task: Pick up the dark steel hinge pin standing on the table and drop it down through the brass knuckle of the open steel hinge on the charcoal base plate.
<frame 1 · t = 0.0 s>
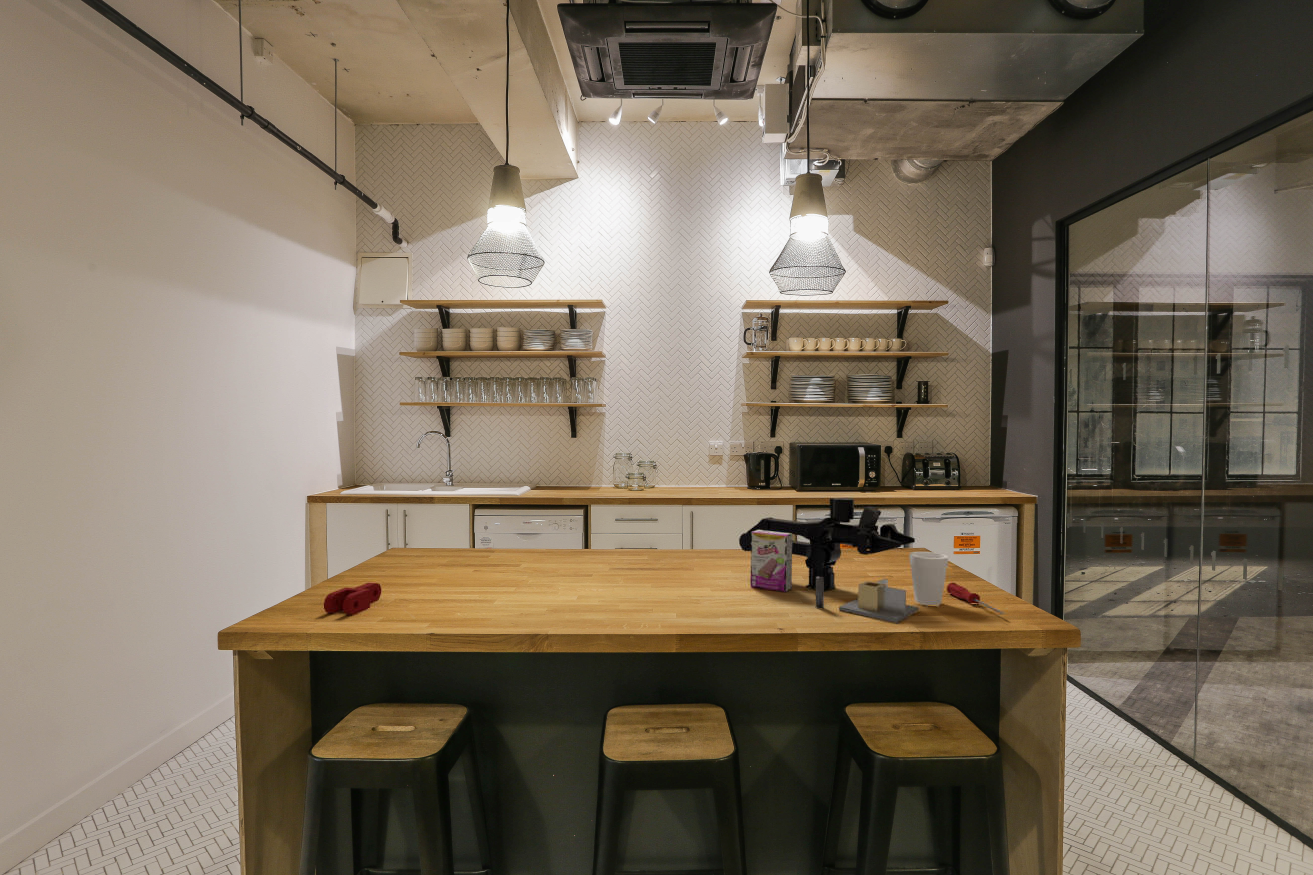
hand: (907, 542, 171), 17 cm above the table, tool horizontal, fingers open, 9 cm apart
hinge: (871, 611, 164), resting on base plate
mechanical linkage: (357, 608, 166), on the table
candy bar box: (770, 589, 187), on the table
screwdriver: (975, 607, 170), on the table
foam cup: (927, 604, 172), on the table
hinge pin: (819, 607, 168), on the table
base plate: (878, 610, 165), on the table
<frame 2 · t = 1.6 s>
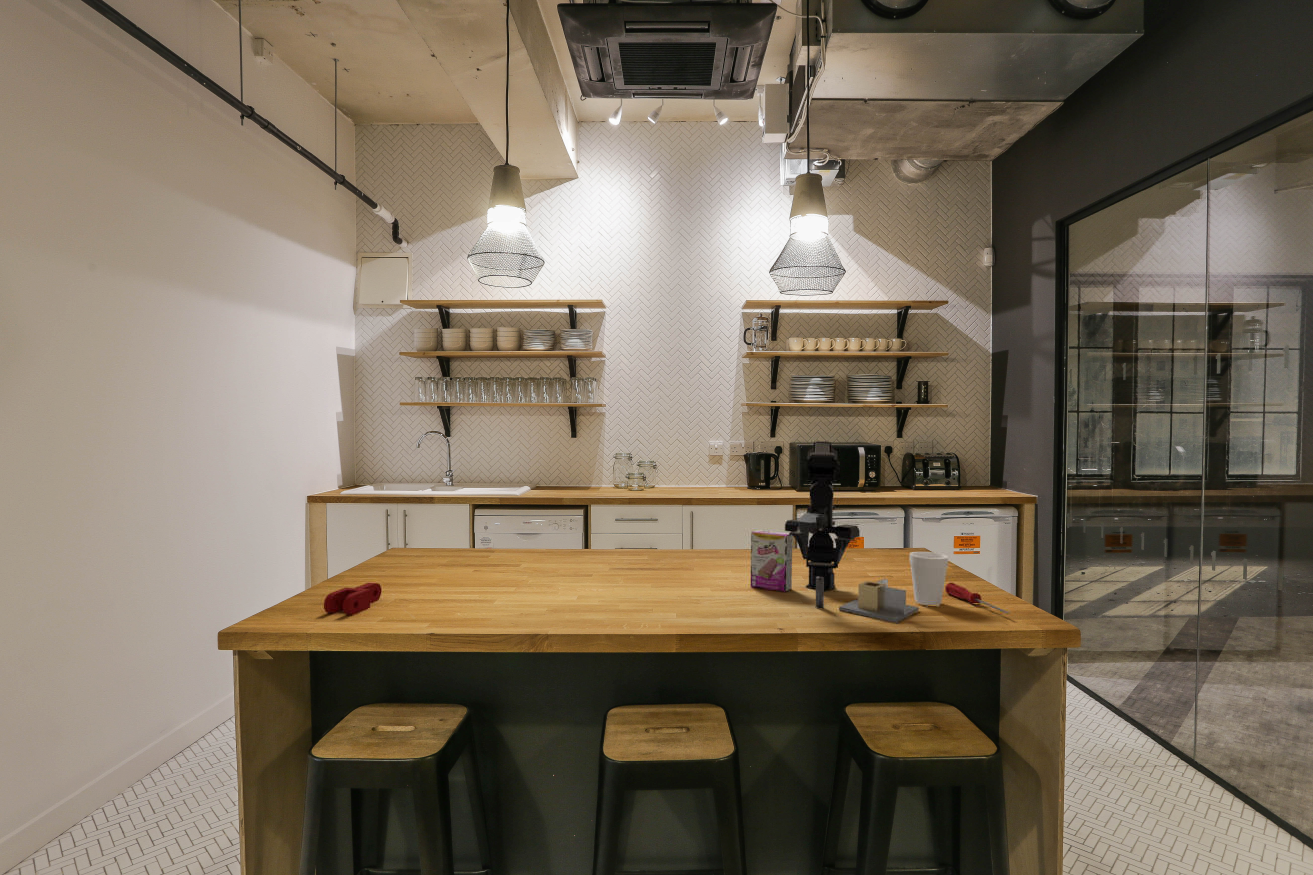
hand: (820, 561, 168), 12 cm above the table, tool pointing down, fingers open, 9 cm apart
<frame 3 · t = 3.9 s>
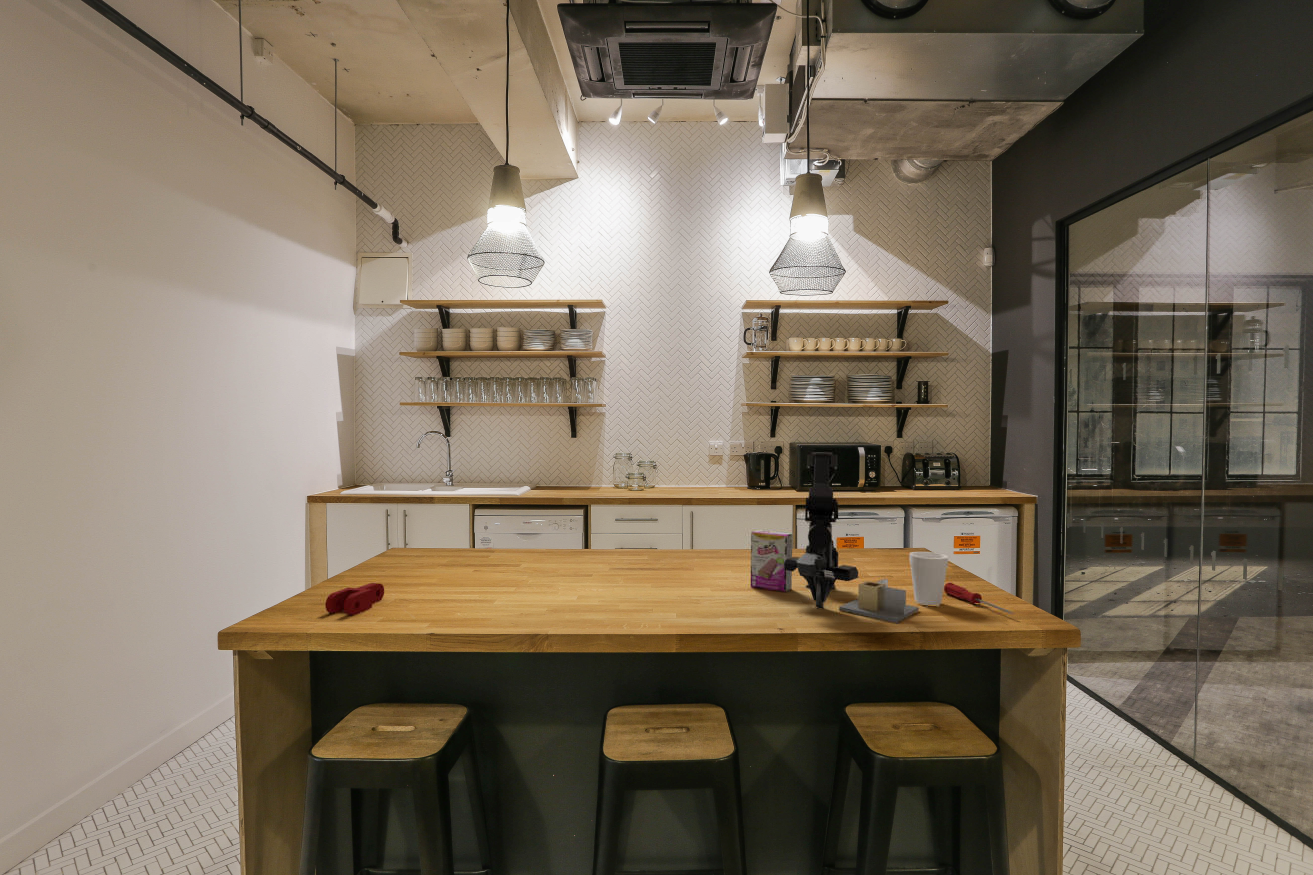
hand: (819, 601, 168), 2 cm above the table, tool pointing down, fingers closed on hinge pin, 2 cm apart
hinge pin: (819, 607, 168), on the table, touching gripper
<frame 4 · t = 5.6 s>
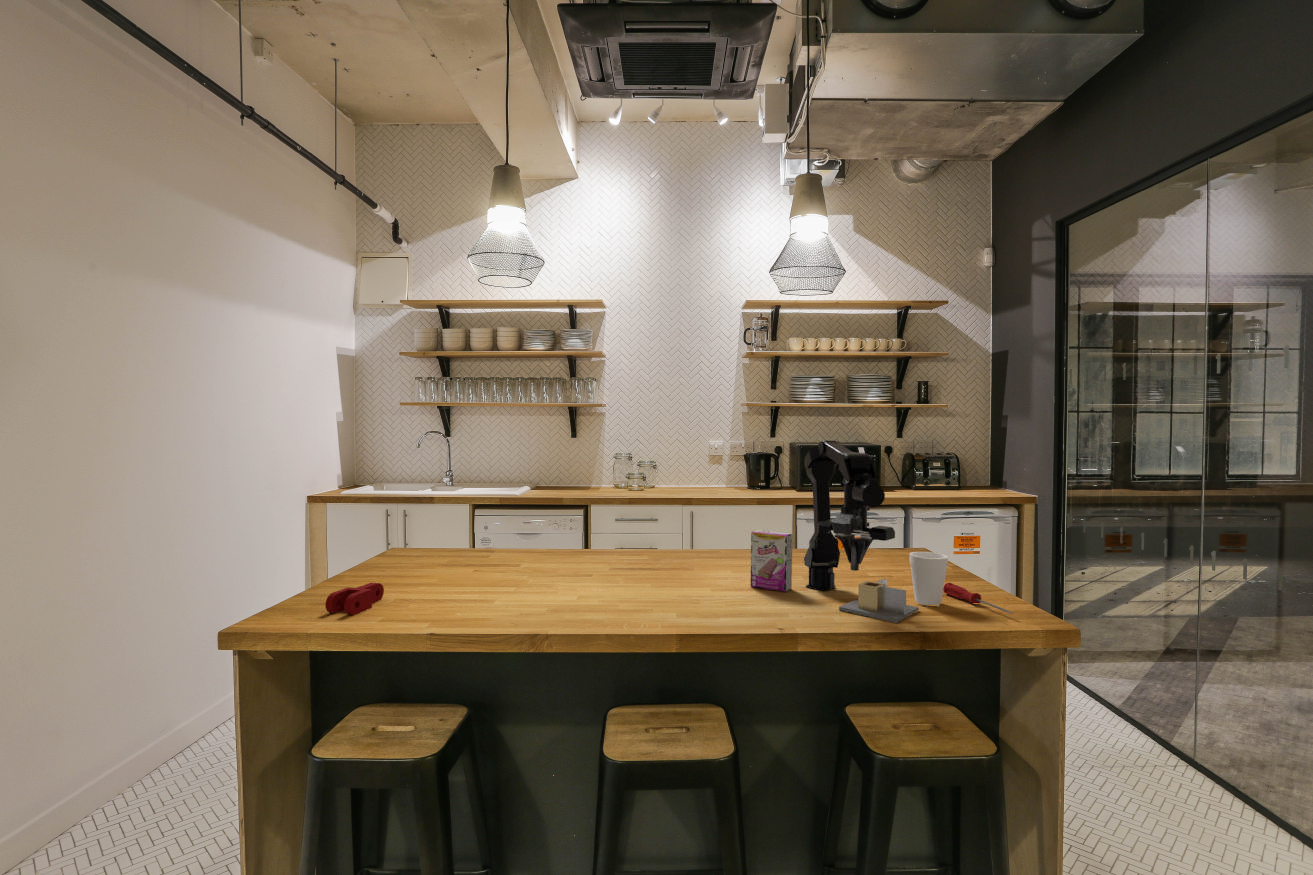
hand: (854, 563, 165), 12 cm above the table, tool pointing down, fingers closed on hinge pin
hinge pin: (854, 569, 165), point 11 cm above the table, touching gripper
everything else where it was.
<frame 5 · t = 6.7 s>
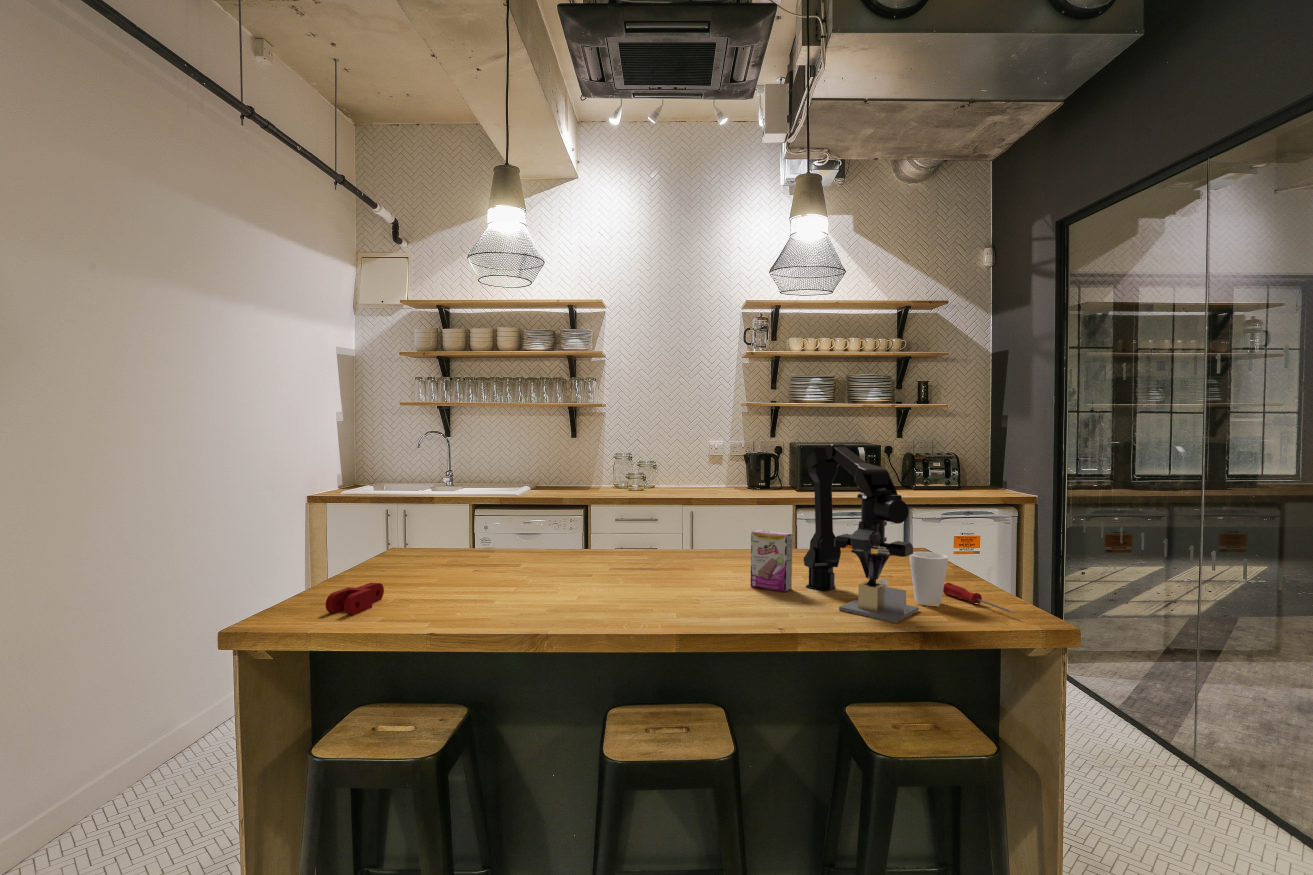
hand: (872, 578, 164), 8 cm above the table, tool pointing down, fingers closed on hinge pin
hinge pin: (871, 584, 164), point 7 cm above the table, touching gripper
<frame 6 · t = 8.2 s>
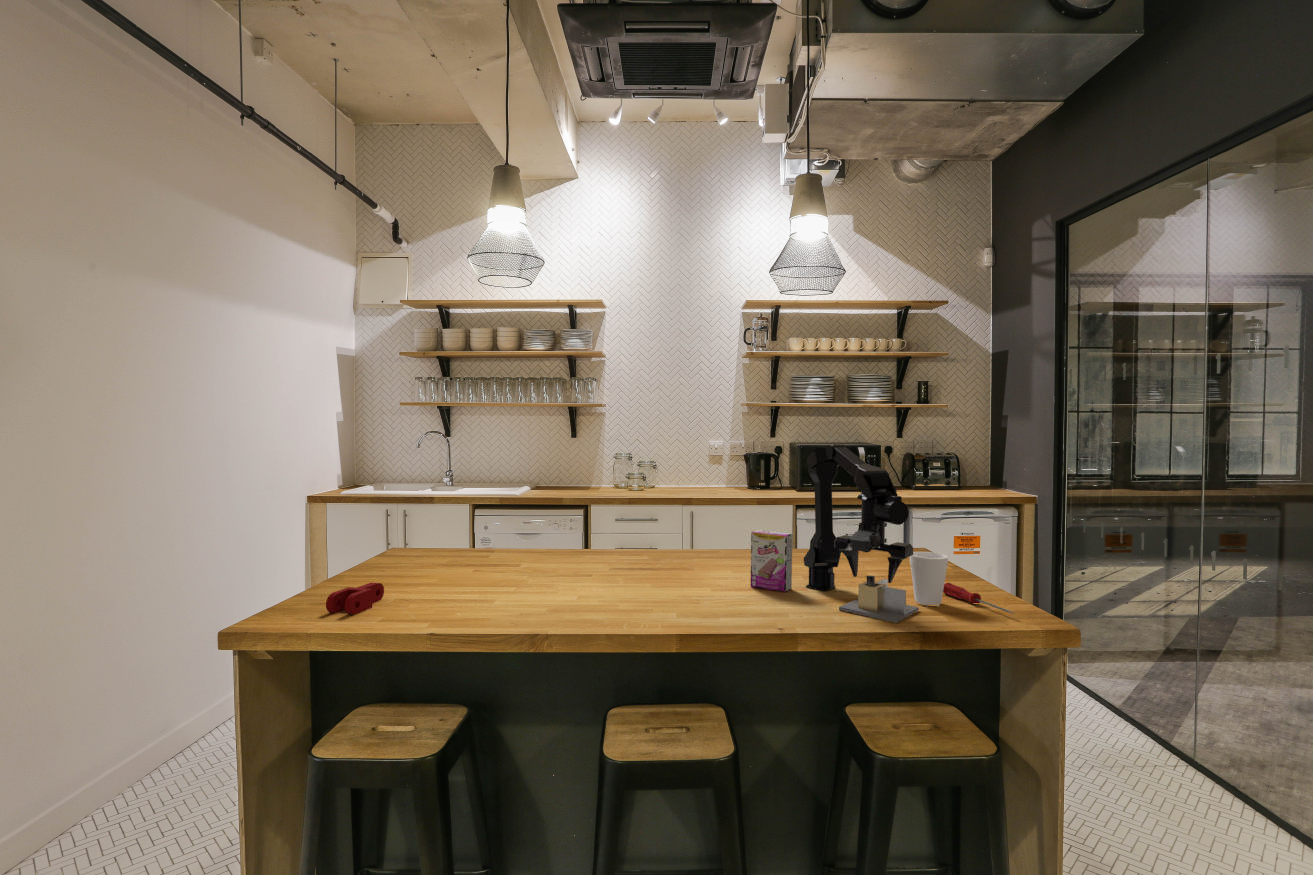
hand: (872, 579, 164), 8 cm above the table, tool pointing down, fingers open, 9 cm apart
hinge pin: (871, 607, 164), point 1 cm above the table, touching base plate
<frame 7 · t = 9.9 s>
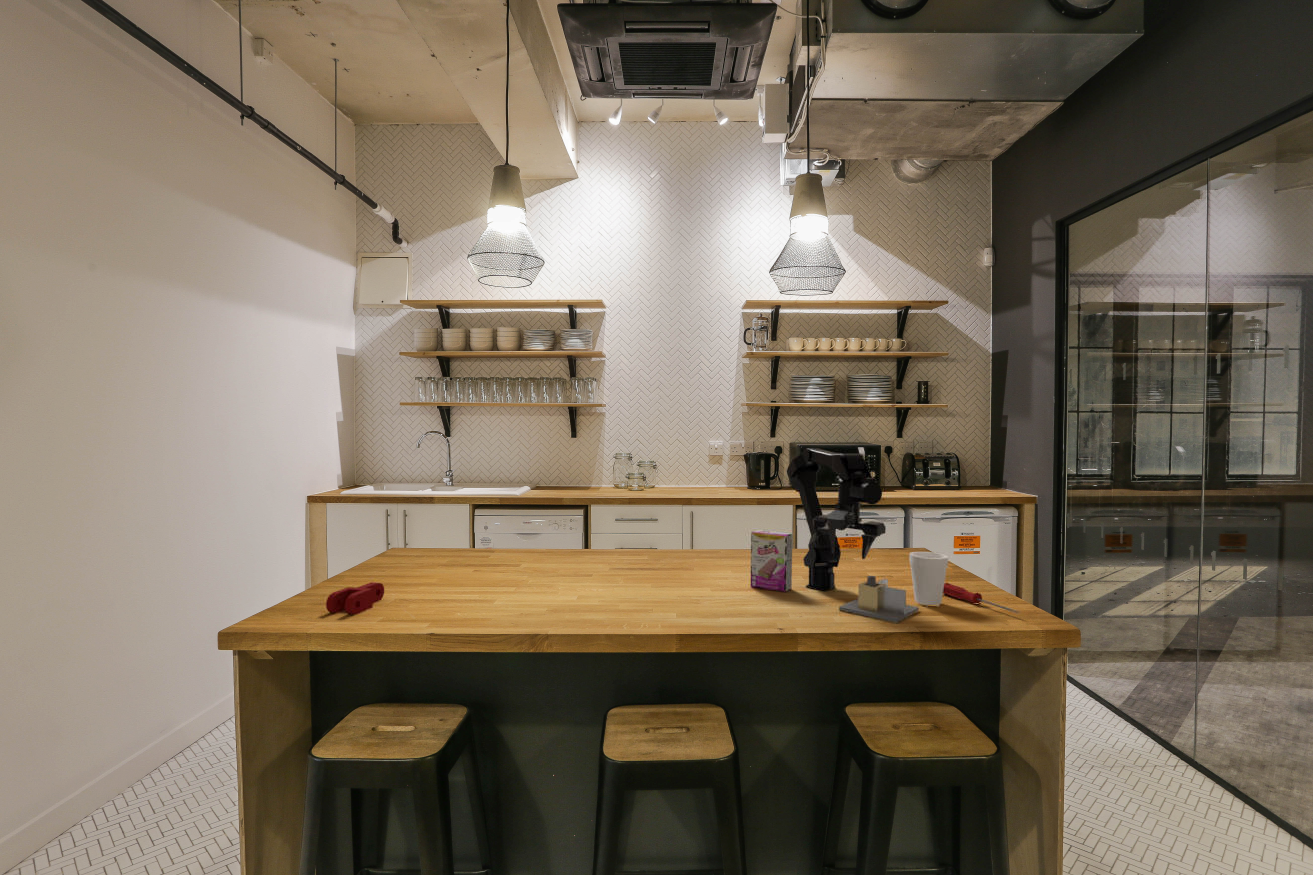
hand: (847, 556, 176), 12 cm above the table, tool pointing down, fingers open, 9 cm apart
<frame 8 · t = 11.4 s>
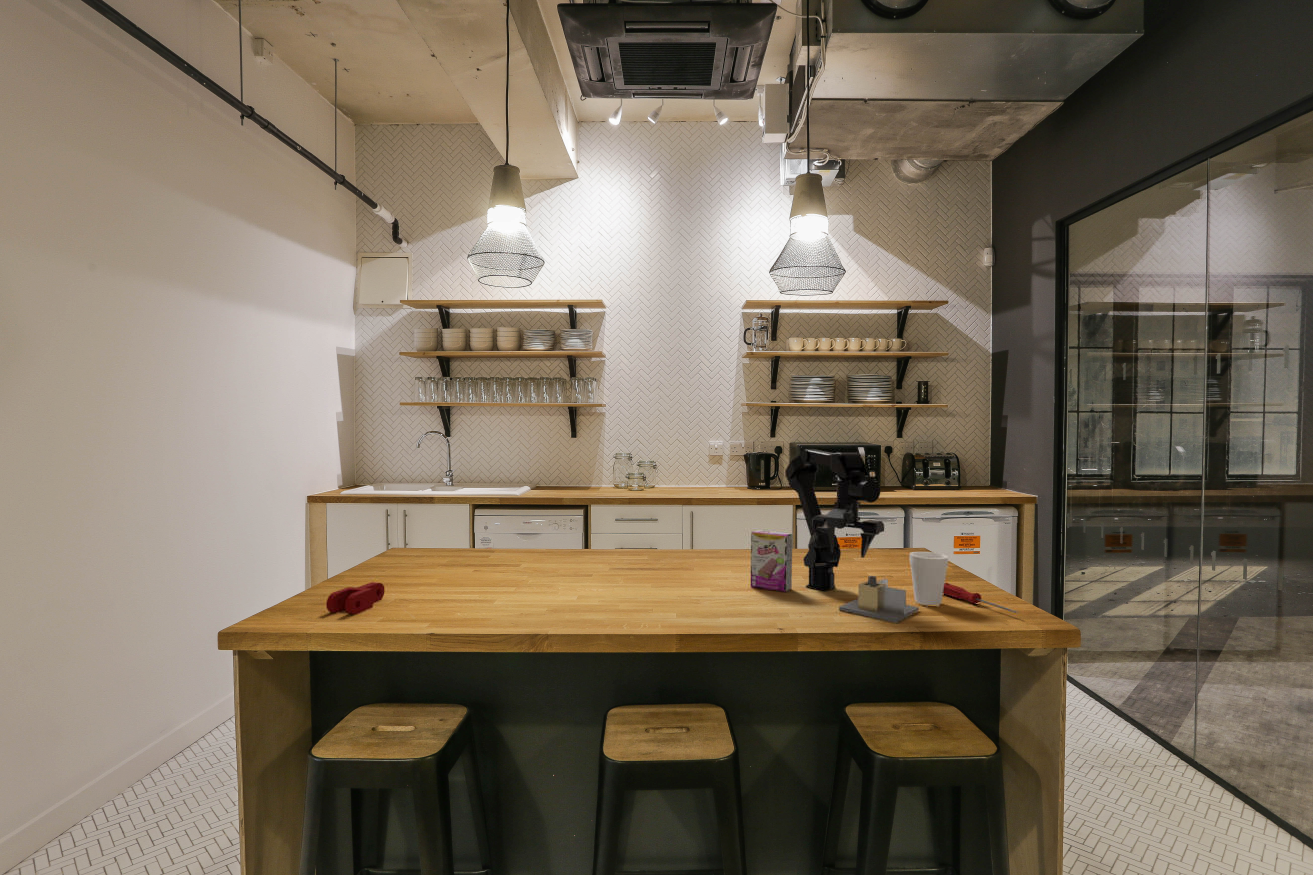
hand: (846, 555, 176), 12 cm above the table, tool pointing down, fingers open, 9 cm apart
at the end: hinge pin 0.3 cm off-centre on the hinge, point 1.0 cm above the hinge's base; hinge pin tilted 1°; the gripper is holding nothing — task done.
